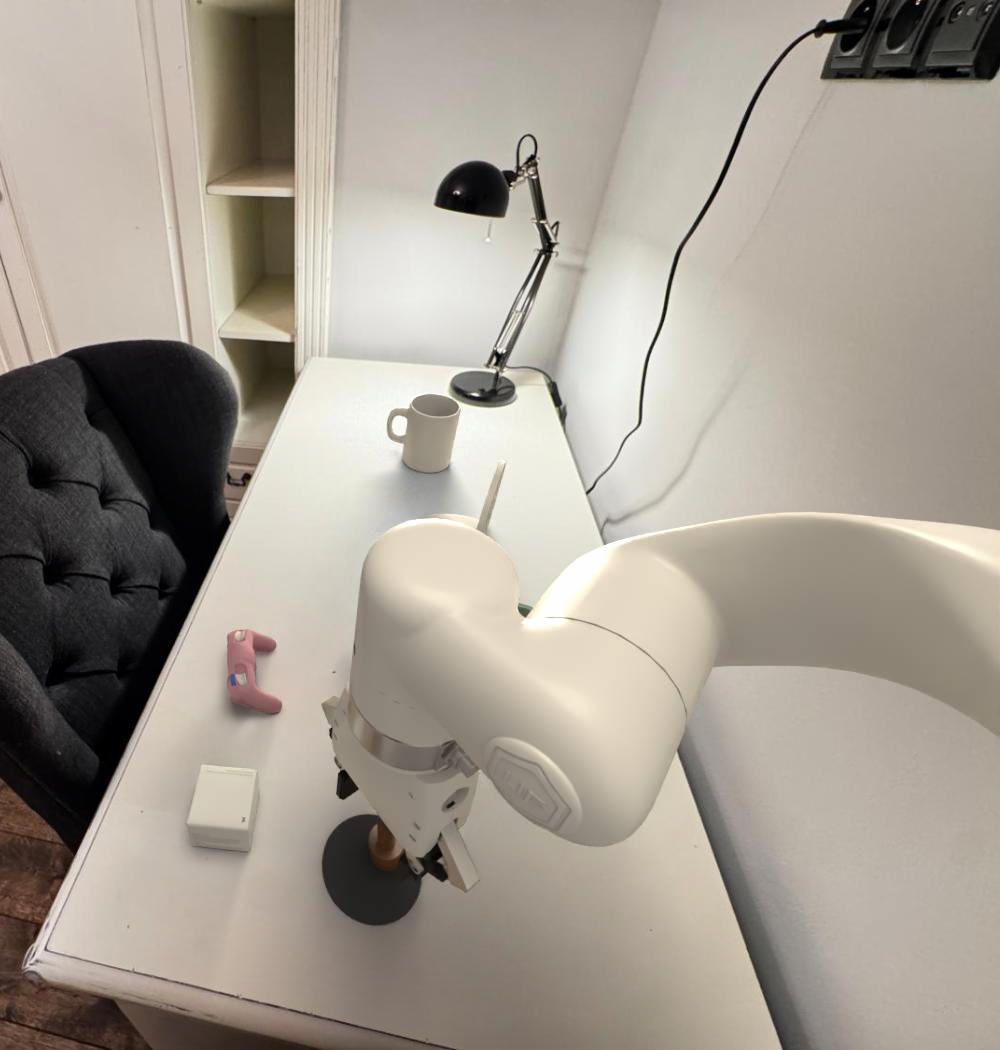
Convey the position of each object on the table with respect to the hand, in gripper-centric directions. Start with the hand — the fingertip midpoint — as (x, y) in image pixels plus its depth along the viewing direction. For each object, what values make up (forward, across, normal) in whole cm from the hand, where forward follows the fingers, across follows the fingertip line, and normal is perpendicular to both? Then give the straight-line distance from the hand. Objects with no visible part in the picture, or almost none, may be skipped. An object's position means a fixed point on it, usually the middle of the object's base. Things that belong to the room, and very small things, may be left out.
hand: (381, 825), depth 46 cm
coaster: (+9, 0, 0) cm, 9 cm away
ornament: (+9, +28, -33) cm, 44 cm away
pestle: (+9, 0, -2) cm, 9 cm away
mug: (+9, +48, -49) cm, 69 cm away
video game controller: (+9, +23, -1) cm, 25 cm away
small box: (+9, +11, +9) cm, 17 cm away
